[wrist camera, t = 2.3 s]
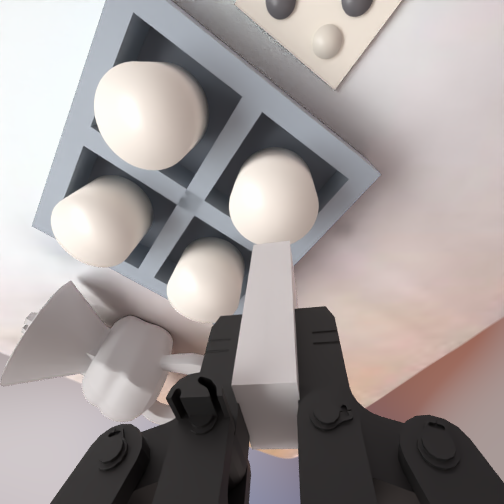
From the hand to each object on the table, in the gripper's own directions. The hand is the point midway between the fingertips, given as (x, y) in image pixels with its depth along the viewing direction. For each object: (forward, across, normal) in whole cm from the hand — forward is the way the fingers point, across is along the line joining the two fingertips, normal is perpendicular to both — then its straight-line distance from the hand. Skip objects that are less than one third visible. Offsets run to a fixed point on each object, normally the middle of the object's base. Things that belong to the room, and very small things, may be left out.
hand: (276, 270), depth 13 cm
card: (+13, +4, +10) cm, 17 cm away
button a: (+10, 0, 0) cm, 10 cm away
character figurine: (+13, -18, -16) cm, 28 cm away
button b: (+10, -6, -5) cm, 13 cm away
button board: (+13, -6, 0) cm, 14 cm away
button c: (+10, -6, +6) cm, 13 cm away
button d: (+10, -12, 0) cm, 15 cm away
